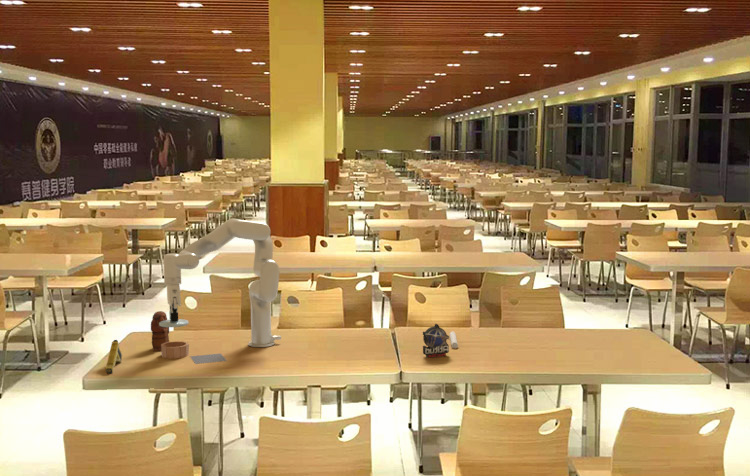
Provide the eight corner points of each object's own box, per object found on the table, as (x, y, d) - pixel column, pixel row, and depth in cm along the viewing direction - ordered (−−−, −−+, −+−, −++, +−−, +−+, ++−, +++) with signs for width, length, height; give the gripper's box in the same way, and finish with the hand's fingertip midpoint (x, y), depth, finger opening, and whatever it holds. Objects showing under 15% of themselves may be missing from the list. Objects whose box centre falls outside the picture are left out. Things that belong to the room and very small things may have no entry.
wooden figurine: (163, 351, 389) (162, 314, 387) (150, 351, 390) (149, 313, 388) (172, 345, 401) (170, 309, 399) (159, 345, 401) (157, 308, 399)
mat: (220, 354, 384) (220, 353, 384) (226, 361, 371) (226, 360, 371) (190, 357, 379) (190, 356, 379) (195, 364, 366) (195, 363, 366)
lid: (186, 320, 388) (185, 305, 387) (190, 325, 376) (190, 310, 375) (157, 322, 383) (157, 307, 382) (161, 328, 371) (160, 312, 370)
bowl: (186, 351, 389) (185, 340, 388) (190, 357, 378) (190, 345, 377) (160, 354, 384) (159, 342, 384) (163, 360, 373) (163, 348, 373)
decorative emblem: (446, 354, 381) (446, 322, 379) (448, 355, 379) (448, 323, 377) (422, 356, 377) (422, 324, 376) (424, 358, 375) (424, 325, 373)
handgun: (122, 356, 373) (118, 336, 365) (115, 387, 358) (111, 368, 350) (116, 356, 372) (112, 336, 365) (109, 387, 358) (105, 368, 350)
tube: (449, 336, 418) (451, 348, 393) (449, 330, 417) (451, 342, 392) (455, 336, 417) (457, 349, 393) (455, 330, 417) (458, 342, 392)
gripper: (183, 283, 371) (185, 323, 373) (178, 277, 386) (179, 316, 388) (166, 284, 368) (168, 324, 370) (161, 278, 383) (163, 317, 385)
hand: (173, 320), depth 379 cm, fingers closed on lid, 3 cm apart
